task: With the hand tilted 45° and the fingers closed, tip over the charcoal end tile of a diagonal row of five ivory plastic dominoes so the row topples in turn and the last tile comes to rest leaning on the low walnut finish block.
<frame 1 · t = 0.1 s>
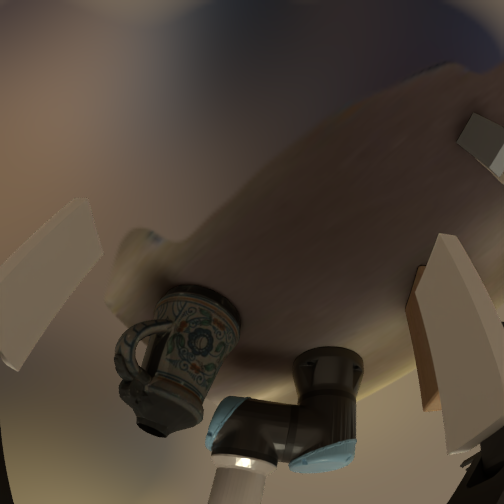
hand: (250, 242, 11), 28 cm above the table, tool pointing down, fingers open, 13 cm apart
domino 1: (470, 131, 29), on the table
wooden block: (436, 287, 44), on the table
beer stein: (194, 310, 57), on the table
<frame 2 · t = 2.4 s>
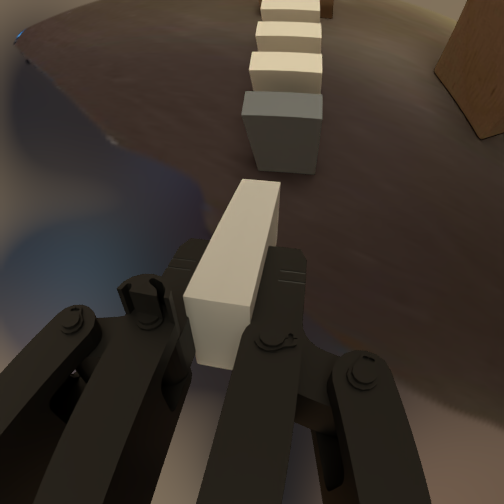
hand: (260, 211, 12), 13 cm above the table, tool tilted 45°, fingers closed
domino 1: (287, 162, 26), on the table
wooden block: (480, 99, 25), on the table
domino 2: (290, 125, 27), on the table
domino 4: (294, 66, 28), on the table
end block: (297, 10, 29), on the table
domino 3: (292, 93, 27), on the table
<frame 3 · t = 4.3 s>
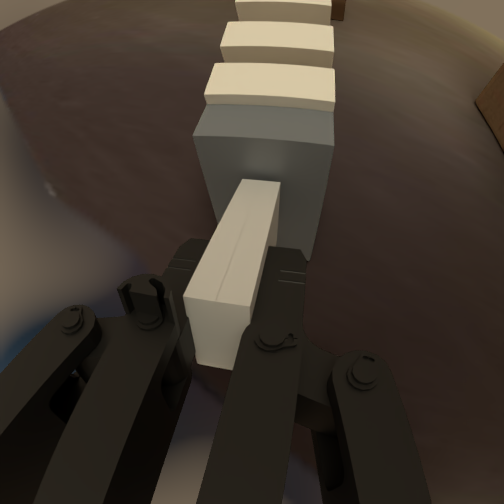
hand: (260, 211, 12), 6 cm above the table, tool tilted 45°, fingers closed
domino 1: (269, 240, 18), on the table, tilted 18°
domino 2: (277, 181, 19), on the table, tilted 6°
domino 4: (288, 87, 20), on the table
end block: (296, 8, 22), on the table
domino 3: (283, 130, 20), on the table
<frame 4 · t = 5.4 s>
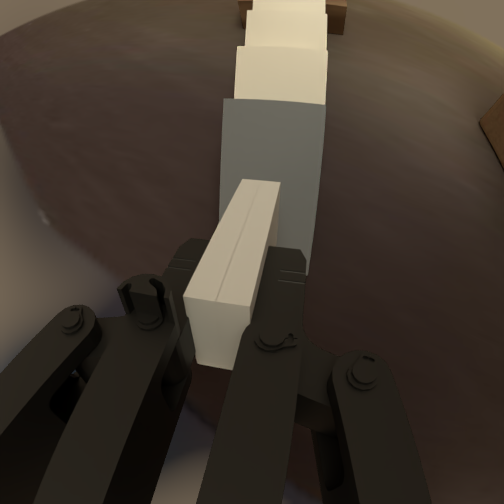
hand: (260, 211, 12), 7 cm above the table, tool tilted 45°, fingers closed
domino 1: (264, 262, 18), point 1 cm above the table, tilted 59°, touching domino 2
domino 2: (274, 196, 18), point 1 cm above the table, tilted 57°, touching domino 1, domino 3
domino 4: (285, 97, 19), point 1 cm above the table, tilted 56°, touching domino 3, domino 5
end block: (293, 20, 22), on the table
domino 3: (281, 141, 19), point 1 cm above the table, tilted 57°, touching domino 2, domino 4
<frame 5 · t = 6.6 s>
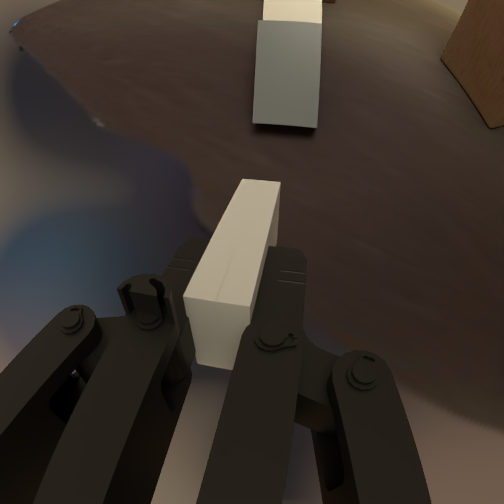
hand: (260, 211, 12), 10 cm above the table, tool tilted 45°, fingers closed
domino 1: (285, 125, 23), point 1 cm above the table, tilted 58°, touching domino 2
wooden block: (488, 89, 22), on the table
domino 2: (289, 88, 23), point 1 cm above the table, tilted 57°, touching domino 1, domino 3
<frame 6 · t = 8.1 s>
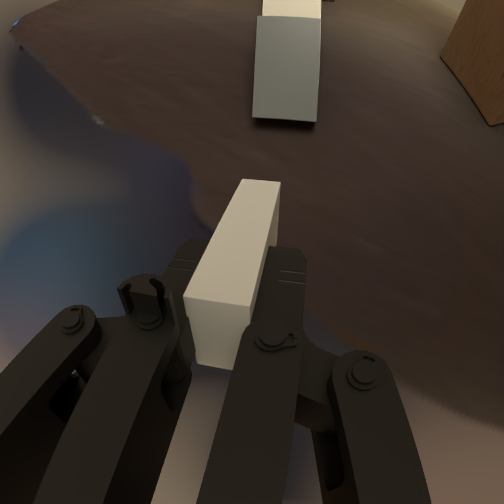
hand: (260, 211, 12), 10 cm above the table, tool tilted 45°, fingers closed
domino 1: (284, 119, 23), point 1 cm above the table, tilted 58°, touching domino 2
wooden block: (488, 86, 22), on the table
domino 2: (289, 82, 23), point 1 cm above the table, tilted 56°, touching domino 1, domino 3
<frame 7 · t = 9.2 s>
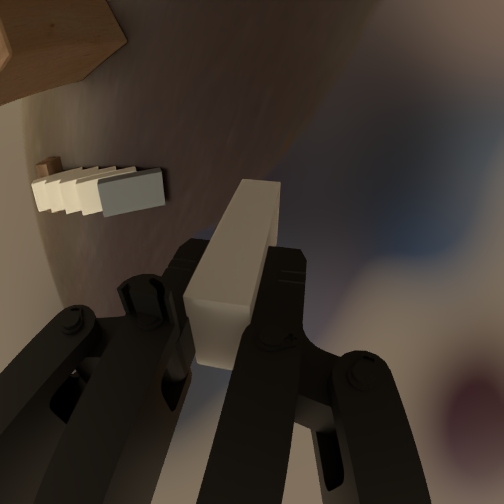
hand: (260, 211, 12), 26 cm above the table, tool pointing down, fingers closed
domino 1: (162, 186, 41), point 1 cm above the table, tilted 57°, touching domino 2
wooden block: (91, 37, 30), on the table
domino 2: (137, 184, 41), point 1 cm above the table, tilted 55°, touching domino 1
domino 4: (100, 182, 42), point 1 cm above the table, tilted 55°, touching domino 3, domino 5
end block: (59, 180, 44), on the table
domino 5: (84, 182, 43), point 1 cm above the table, tilted 55°, touching domino 4, end block
domino 3: (118, 183, 42), point 1 cm above the table, tilted 55°, touching domino 4
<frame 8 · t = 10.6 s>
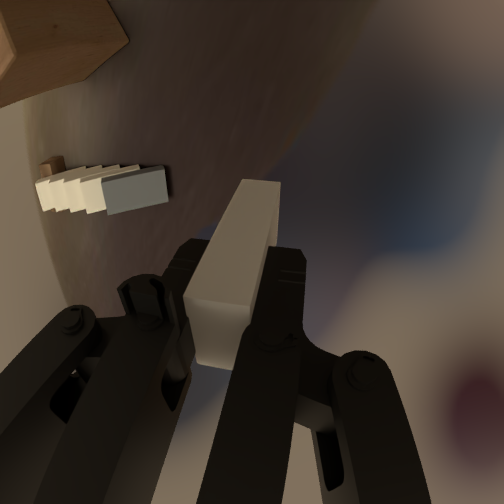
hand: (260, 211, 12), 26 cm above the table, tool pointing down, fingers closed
domino 1: (165, 183, 41), point 1 cm above the table, tilted 57°, touching domino 2
wooden block: (93, 37, 30), on the table
domino 2: (141, 181, 42), point 1 cm above the table, tilted 55°, touching domino 1, domino 3
domino 4: (104, 181, 43), point 1 cm above the table, tilted 55°, touching domino 3, domino 5
end block: (62, 179, 45), on the table
domino 5: (88, 181, 43), point 1 cm above the table, tilted 55°, touching domino 4, end block
domino 3: (122, 181, 42), point 1 cm above the table, tilted 55°, touching domino 2, domino 4
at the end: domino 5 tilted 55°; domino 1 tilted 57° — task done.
